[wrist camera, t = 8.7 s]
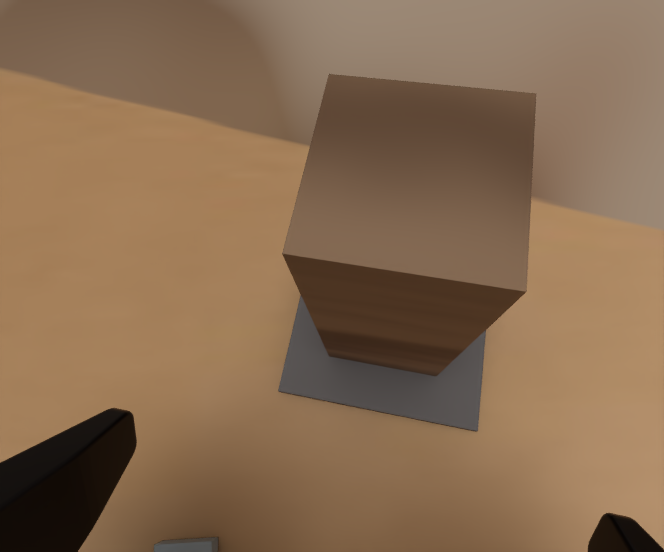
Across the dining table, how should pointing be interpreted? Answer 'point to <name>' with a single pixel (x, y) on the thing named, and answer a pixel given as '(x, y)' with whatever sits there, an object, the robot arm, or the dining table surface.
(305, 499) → the dining table surface
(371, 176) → the walnut block
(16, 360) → the dining table surface
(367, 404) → the mat
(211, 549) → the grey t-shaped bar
